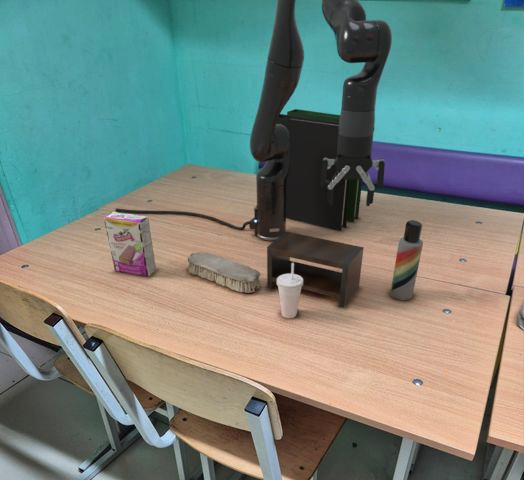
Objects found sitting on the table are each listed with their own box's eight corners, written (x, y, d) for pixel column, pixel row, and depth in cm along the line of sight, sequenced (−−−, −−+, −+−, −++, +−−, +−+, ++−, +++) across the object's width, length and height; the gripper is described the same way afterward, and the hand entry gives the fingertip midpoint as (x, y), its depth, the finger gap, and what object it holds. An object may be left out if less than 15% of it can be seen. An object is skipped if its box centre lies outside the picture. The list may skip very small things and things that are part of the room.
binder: (359, 218, 171) (370, 118, 152) (338, 232, 162) (347, 128, 142) (293, 202, 184) (295, 109, 165) (270, 215, 174) (270, 117, 155)
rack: (267, 287, 133) (266, 246, 126) (285, 270, 141) (286, 231, 133) (343, 307, 124) (348, 264, 117) (358, 288, 132) (363, 247, 125)
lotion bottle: (387, 290, 131) (399, 217, 119) (408, 288, 132) (422, 216, 120) (394, 301, 127) (406, 227, 115) (415, 299, 127) (430, 226, 115)
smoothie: (300, 322, 119) (302, 270, 111) (274, 319, 120) (274, 268, 112) (303, 308, 124) (306, 257, 116) (278, 306, 125) (279, 255, 117)
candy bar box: (114, 272, 141) (102, 217, 131) (123, 264, 145) (112, 210, 135) (148, 278, 138) (139, 222, 128) (157, 270, 142) (148, 215, 132)
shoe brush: (181, 273, 140) (179, 257, 137) (199, 263, 145) (197, 247, 142) (249, 297, 129) (248, 280, 126) (265, 286, 134) (265, 269, 131)
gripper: (388, 127, 109) (379, 200, 118) (323, 126, 110) (319, 198, 120) (390, 136, 103) (381, 211, 112) (322, 135, 104) (318, 209, 114)
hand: (349, 204), depth 116 cm, fingers open, 8 cm apart
